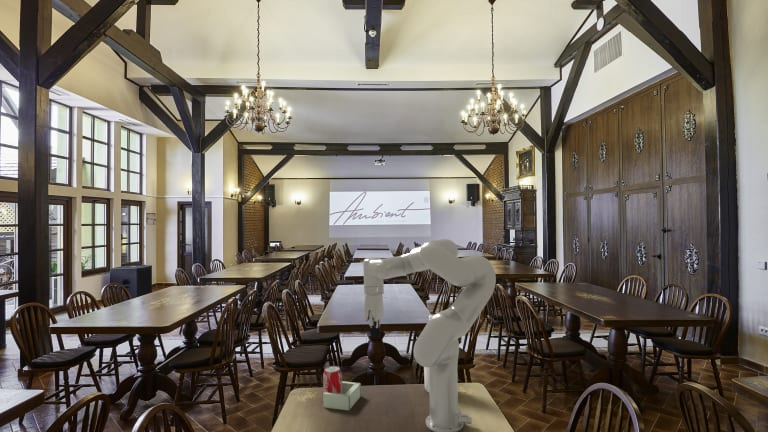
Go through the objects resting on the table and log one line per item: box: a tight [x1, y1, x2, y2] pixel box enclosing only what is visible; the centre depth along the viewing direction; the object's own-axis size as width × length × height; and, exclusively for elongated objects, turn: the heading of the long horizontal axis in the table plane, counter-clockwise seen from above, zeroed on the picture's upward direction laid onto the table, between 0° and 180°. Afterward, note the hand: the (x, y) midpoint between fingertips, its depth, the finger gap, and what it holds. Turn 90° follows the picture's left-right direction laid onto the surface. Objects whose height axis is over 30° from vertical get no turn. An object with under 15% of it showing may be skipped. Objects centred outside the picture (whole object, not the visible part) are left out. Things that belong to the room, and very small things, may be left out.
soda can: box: [322, 365, 343, 394], centre depth 156 cm, size 7×7×12 cm
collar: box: [322, 380, 362, 411], centre depth 154 cm, size 10×12×5 cm
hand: (375, 337), depth 158 cm, fingers closed
